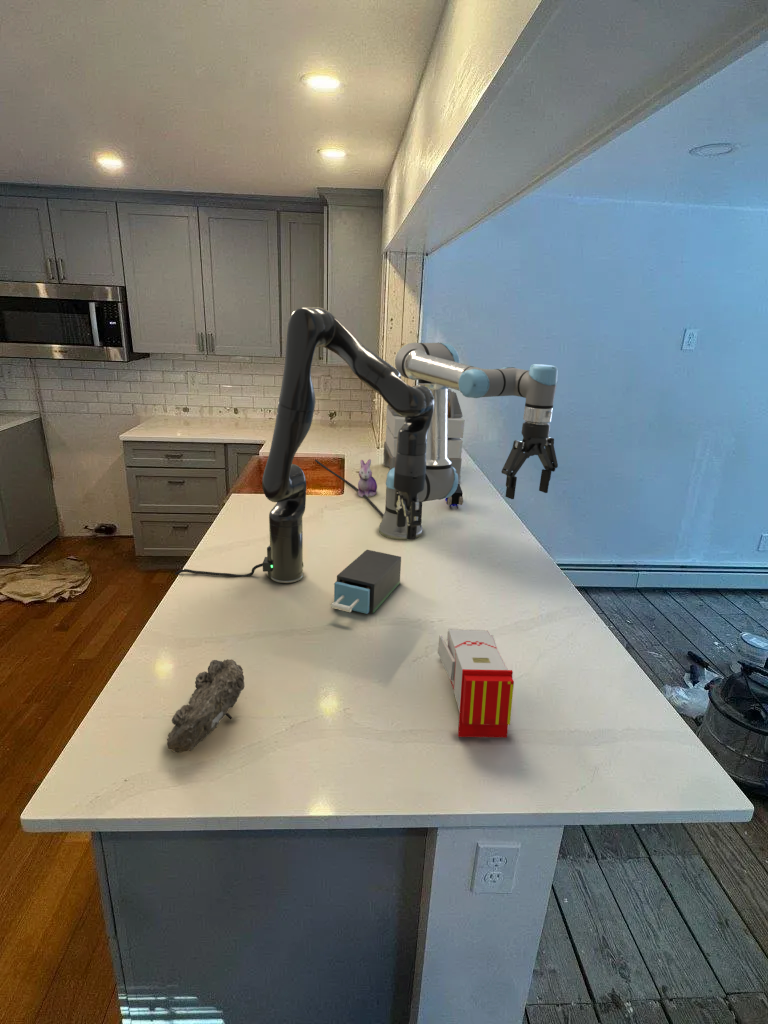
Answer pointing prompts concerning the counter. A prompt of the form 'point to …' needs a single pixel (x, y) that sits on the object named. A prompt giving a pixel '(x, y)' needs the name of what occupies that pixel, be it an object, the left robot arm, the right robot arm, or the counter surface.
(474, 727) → the toy
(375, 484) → the figurine
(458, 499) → the figurine character
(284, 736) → the counter surface
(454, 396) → the light grey slatted crate
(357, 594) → the drawer
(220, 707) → the fossil
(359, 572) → the cabinet
